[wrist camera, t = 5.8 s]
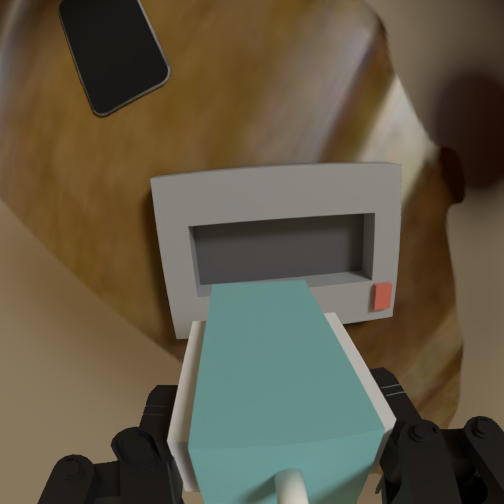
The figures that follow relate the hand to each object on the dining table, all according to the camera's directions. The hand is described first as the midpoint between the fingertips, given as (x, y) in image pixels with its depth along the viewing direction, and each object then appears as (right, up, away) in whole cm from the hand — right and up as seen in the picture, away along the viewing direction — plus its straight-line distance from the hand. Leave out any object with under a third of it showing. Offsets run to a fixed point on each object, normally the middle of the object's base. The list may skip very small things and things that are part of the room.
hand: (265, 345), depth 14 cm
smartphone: (-13, +24, +9) cm, 28 cm away
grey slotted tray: (+2, +5, +15) cm, 16 cm away
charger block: (0, 0, +3) cm, 3 cm away
